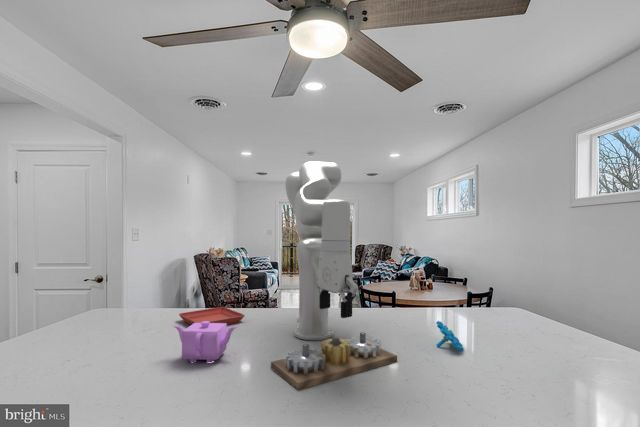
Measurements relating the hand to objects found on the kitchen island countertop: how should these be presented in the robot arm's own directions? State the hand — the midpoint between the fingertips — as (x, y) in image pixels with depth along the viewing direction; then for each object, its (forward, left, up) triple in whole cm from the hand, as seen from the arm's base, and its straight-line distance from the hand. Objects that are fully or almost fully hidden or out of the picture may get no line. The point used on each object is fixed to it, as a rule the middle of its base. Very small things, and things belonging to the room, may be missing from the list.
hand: (335, 312), depth 92 cm
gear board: (+1, 0, -13) cm, 13 cm away
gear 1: (+1, -9, -12) cm, 15 cm away
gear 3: (+8, +35, -14) cm, 39 cm away
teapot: (-22, -27, -13) cm, 38 cm away
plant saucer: (-56, -16, -14) cm, 60 cm away
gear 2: (+1, +9, -12) cm, 15 cm away
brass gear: (0, 0, -12) cm, 12 cm away
